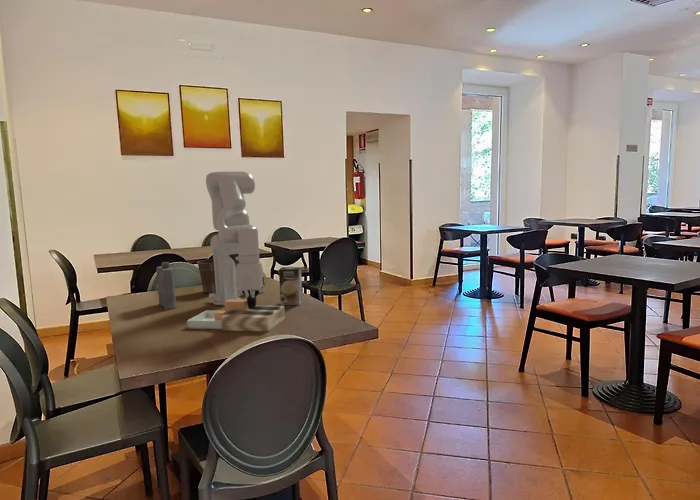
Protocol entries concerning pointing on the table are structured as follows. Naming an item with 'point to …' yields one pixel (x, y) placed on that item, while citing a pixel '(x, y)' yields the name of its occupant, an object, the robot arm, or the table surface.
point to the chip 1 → (219, 315)
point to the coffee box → (290, 286)
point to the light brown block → (230, 304)
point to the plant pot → (207, 275)
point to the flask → (166, 286)
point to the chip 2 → (241, 305)
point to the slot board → (253, 318)
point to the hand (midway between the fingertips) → (252, 307)
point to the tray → (204, 321)
